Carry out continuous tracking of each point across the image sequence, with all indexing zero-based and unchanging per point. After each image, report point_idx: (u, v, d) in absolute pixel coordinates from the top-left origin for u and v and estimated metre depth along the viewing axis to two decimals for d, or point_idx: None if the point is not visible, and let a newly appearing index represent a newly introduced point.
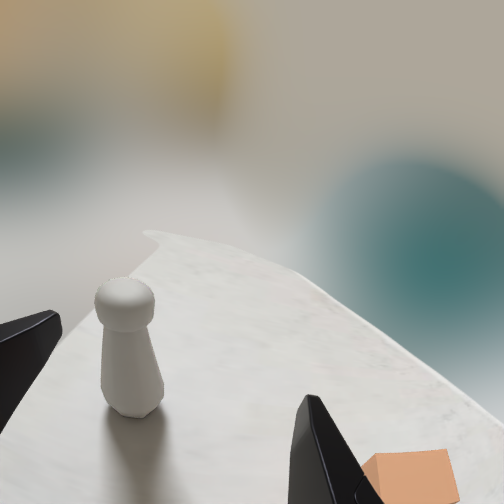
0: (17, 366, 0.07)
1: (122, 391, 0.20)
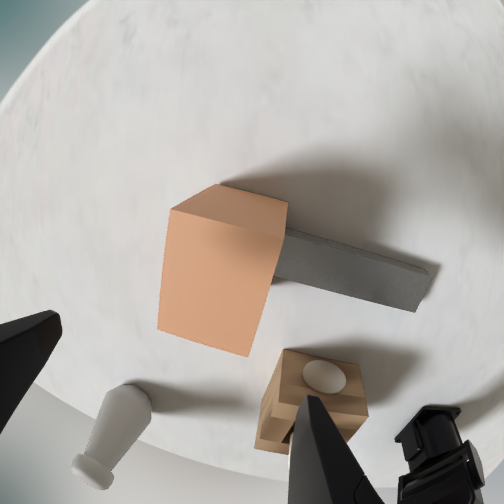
0: (17, 366, 0.07)
1: (138, 432, 0.25)
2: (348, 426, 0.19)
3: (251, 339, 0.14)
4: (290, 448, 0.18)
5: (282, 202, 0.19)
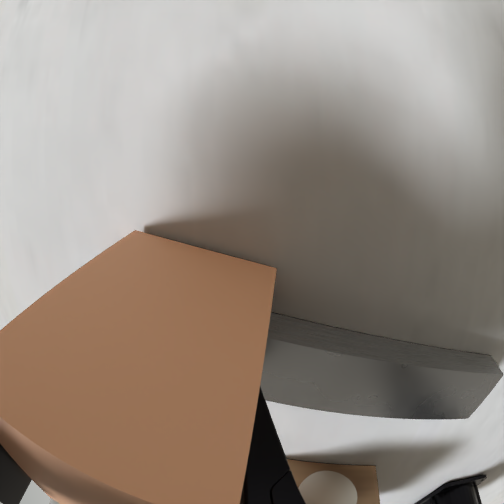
0: None
1: None
2: None
3: None
4: None
5: (264, 272, 0.09)
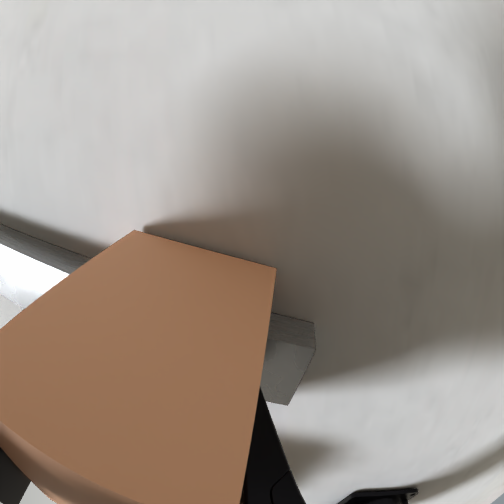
0: None
1: None
2: None
3: None
4: None
5: (263, 272, 0.09)
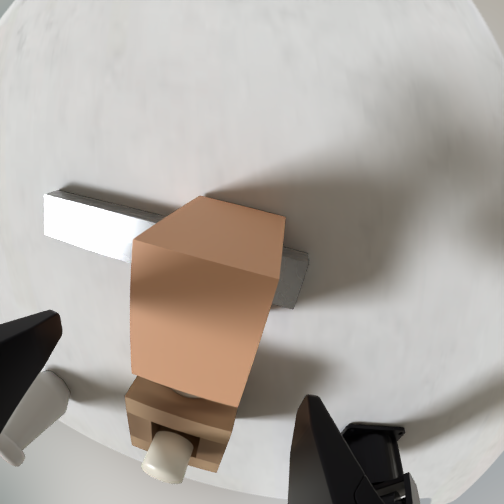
0: (17, 366, 0.07)
1: (51, 416, 0.22)
2: (213, 438, 0.16)
3: (241, 390, 0.11)
4: None
5: (278, 217, 0.16)
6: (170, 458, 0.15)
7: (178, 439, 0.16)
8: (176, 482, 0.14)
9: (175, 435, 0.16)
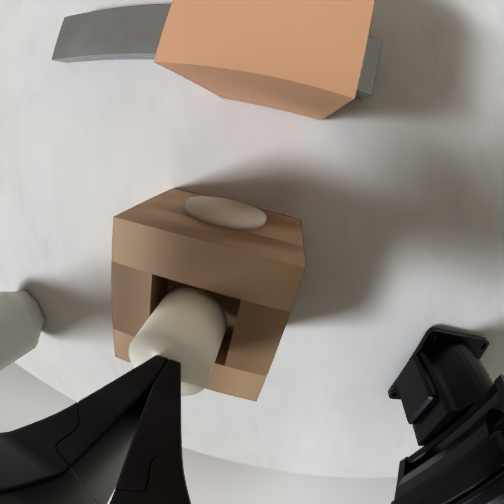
0: (133, 429, 0.06)
1: (13, 345, 0.16)
2: (266, 298, 0.10)
3: (360, 53, 0.05)
4: None
5: None
6: (188, 323, 0.09)
7: (203, 298, 0.11)
8: (194, 389, 0.09)
9: (198, 291, 0.11)
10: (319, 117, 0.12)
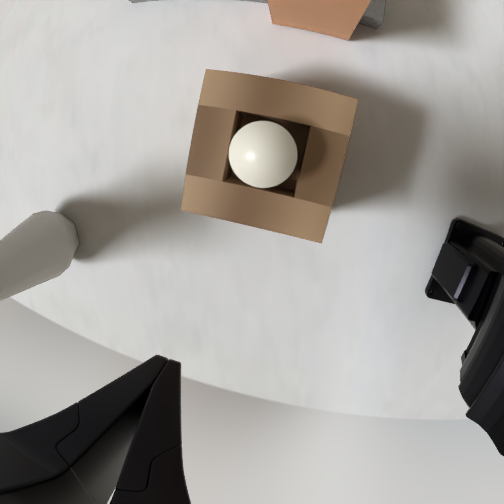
0: (133, 429, 0.06)
1: (46, 258, 0.18)
2: (330, 123, 0.12)
3: None
4: None
5: None
6: None
7: None
8: (283, 176, 0.12)
9: None
10: (348, 34, 0.14)
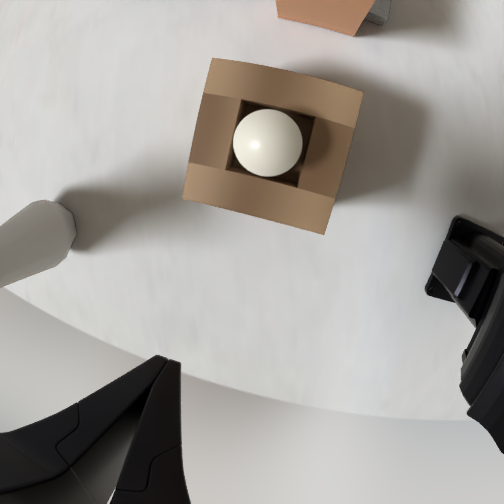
0: (133, 429, 0.06)
1: (44, 247, 0.18)
2: (335, 115, 0.12)
3: None
4: None
5: None
6: None
7: None
8: (287, 165, 0.12)
9: None
10: (353, 30, 0.14)
